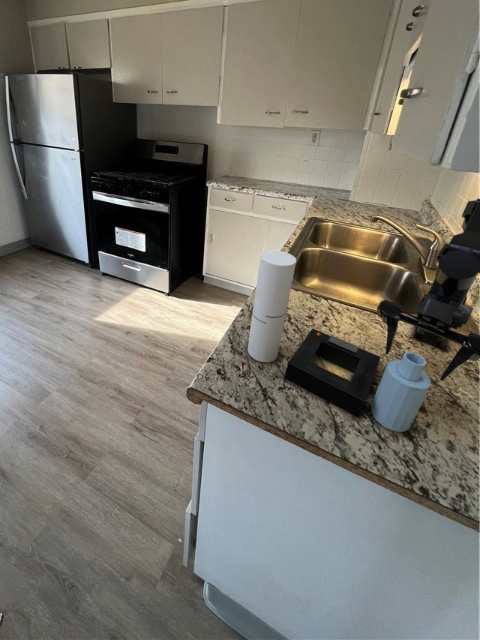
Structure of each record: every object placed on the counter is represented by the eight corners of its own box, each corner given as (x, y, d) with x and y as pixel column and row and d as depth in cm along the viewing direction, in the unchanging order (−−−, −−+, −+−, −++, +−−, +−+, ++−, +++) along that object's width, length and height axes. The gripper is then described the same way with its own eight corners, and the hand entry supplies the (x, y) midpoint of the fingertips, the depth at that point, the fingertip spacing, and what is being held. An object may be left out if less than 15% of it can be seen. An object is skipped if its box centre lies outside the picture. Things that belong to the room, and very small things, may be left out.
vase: (367, 397, 64) (389, 341, 58) (404, 406, 62) (430, 350, 56) (374, 425, 58) (398, 367, 52) (414, 436, 56) (444, 377, 50)
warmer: (309, 342, 78) (313, 326, 76) (375, 372, 70) (381, 354, 68) (284, 378, 68) (288, 360, 66) (359, 418, 59) (366, 399, 57)
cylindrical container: (278, 364, 71) (297, 267, 61) (247, 359, 73) (260, 263, 62) (277, 343, 78) (294, 252, 67) (248, 339, 79) (260, 248, 68)
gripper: (393, 264, 63) (359, 333, 60) (521, 304, 51) (484, 391, 48) (393, 285, 71) (363, 345, 69) (502, 322, 59) (470, 397, 57)
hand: (412, 366), depth 61 cm, fingers open, 9 cm apart
